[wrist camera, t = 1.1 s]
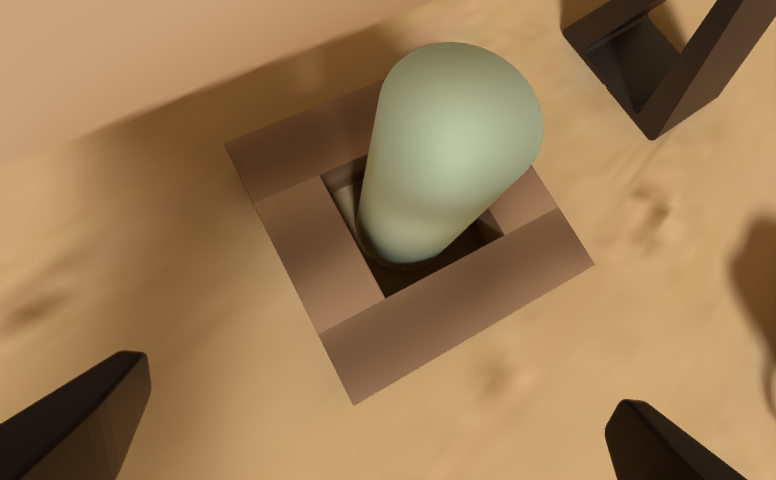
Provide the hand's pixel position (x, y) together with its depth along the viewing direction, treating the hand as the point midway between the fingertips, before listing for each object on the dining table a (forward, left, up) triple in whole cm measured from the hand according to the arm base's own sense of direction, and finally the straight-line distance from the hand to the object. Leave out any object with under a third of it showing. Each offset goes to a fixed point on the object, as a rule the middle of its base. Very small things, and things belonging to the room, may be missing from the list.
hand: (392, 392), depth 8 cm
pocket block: (+2, -8, -13) cm, 16 cm away
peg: (+2, -8, -13) cm, 16 cm away
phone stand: (-5, -26, -14) cm, 29 cm away
